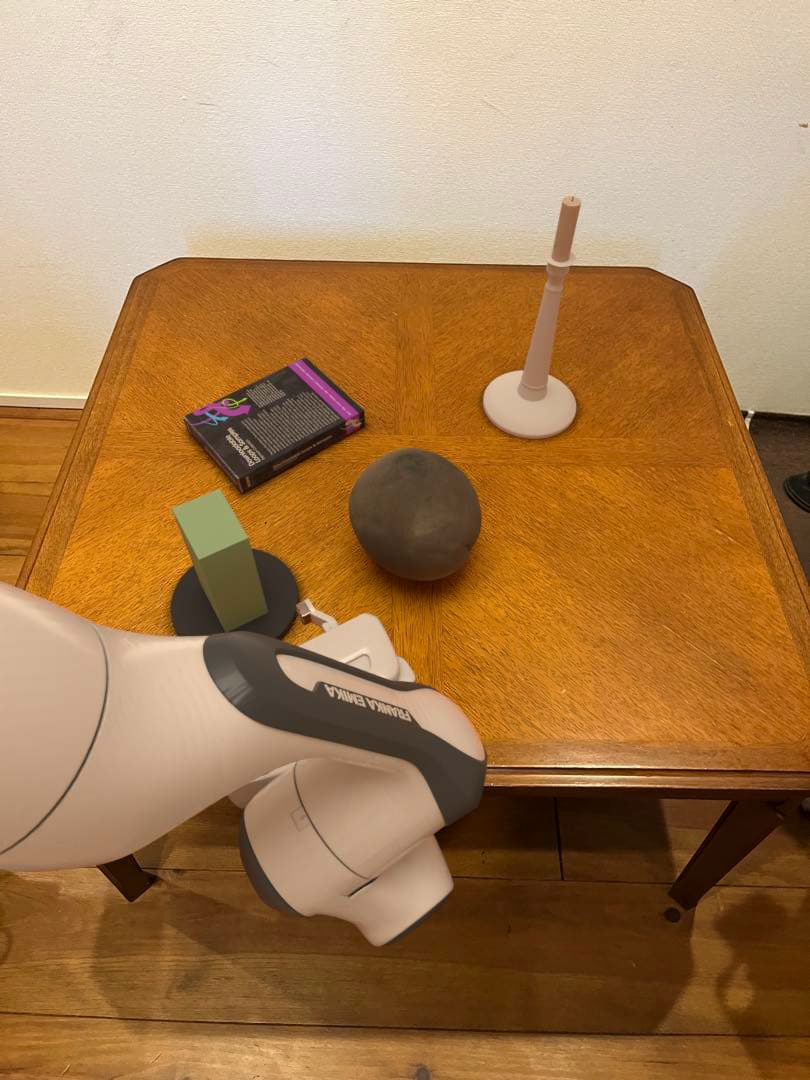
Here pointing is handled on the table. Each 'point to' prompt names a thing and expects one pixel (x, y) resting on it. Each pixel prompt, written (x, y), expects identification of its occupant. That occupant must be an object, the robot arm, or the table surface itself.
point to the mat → (280, 596)
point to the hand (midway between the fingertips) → (257, 625)
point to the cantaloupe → (415, 514)
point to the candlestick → (539, 355)
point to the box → (274, 423)
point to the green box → (222, 559)
